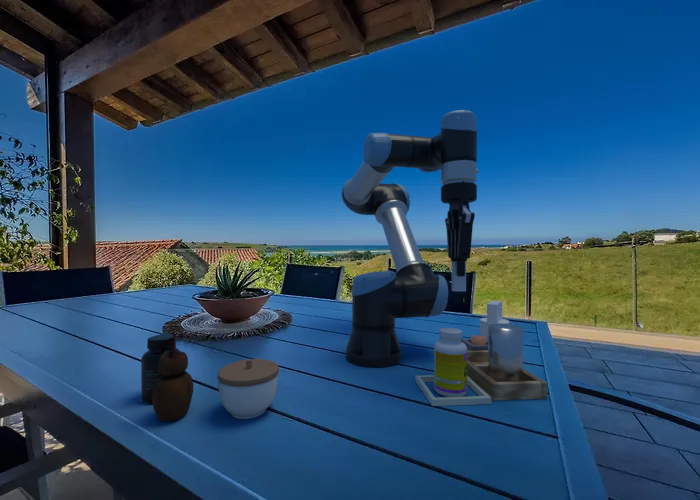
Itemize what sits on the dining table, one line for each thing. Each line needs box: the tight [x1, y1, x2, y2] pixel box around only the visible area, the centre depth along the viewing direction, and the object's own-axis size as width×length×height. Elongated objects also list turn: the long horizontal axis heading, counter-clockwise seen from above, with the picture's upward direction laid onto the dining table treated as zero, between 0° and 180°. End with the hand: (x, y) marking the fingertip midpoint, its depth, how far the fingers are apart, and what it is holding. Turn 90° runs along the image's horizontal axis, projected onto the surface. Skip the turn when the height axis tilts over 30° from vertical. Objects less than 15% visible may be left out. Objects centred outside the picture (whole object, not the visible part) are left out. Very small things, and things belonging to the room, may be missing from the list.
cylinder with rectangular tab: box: [479, 299, 511, 340], centre depth 107 cm, size 9×9×12 cm
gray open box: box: [461, 338, 488, 351], centre depth 89 cm, size 7×7×4 cm
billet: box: [488, 323, 524, 382], centre depth 69 cm, size 7×7×12 cm
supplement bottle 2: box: [433, 327, 468, 397], centre depth 67 cm, size 7×7×13 cm
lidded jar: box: [217, 358, 280, 420], centre depth 59 cm, size 11×11×9 cm
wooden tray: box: [467, 350, 548, 401], centre depth 74 cm, size 11×21×3 cm, turn 4°
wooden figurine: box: [152, 329, 194, 422], centre depth 57 cm, size 7×6×15 cm
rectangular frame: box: [415, 374, 493, 407], centre depth 67 cm, size 12×12×1 cm
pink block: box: [470, 334, 486, 345], centre depth 89 cm, size 4×4×5 cm
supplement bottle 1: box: [140, 333, 180, 405], centre depth 65 cm, size 7×7×12 cm
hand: (458, 290), depth 71 cm, fingers closed
